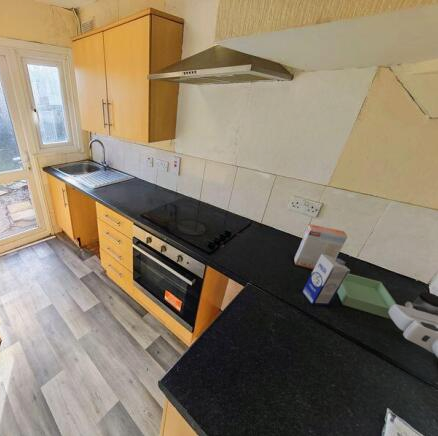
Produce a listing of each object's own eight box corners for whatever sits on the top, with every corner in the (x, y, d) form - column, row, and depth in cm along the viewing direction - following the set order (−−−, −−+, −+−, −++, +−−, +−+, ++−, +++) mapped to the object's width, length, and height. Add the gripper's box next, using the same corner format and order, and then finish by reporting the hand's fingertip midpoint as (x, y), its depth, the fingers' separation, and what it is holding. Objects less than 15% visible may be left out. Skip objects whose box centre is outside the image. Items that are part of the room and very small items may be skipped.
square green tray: (375, 289, 99) (381, 282, 97) (395, 320, 85) (402, 312, 83) (331, 277, 105) (335, 270, 103) (342, 304, 90) (347, 296, 88)
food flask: (416, 320, 77) (439, 295, 72) (426, 333, 73) (451, 307, 67) (396, 314, 79) (417, 289, 73) (404, 327, 74) (427, 301, 69)
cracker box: (325, 267, 112) (344, 230, 102) (328, 274, 107) (348, 237, 97) (293, 258, 117) (308, 223, 107) (294, 265, 112) (311, 228, 102)
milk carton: (301, 291, 96) (321, 253, 87) (317, 292, 96) (338, 254, 87) (312, 304, 90) (334, 265, 80) (329, 305, 90) (353, 266, 80)
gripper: (516, 353, 57) (473, 312, 68) (410, 322, 64) (387, 289, 75) (497, 367, 60) (459, 326, 71) (397, 336, 67) (377, 303, 78)
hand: (421, 307), depth 73 cm, fingers closed on food flask, 5 cm apart
